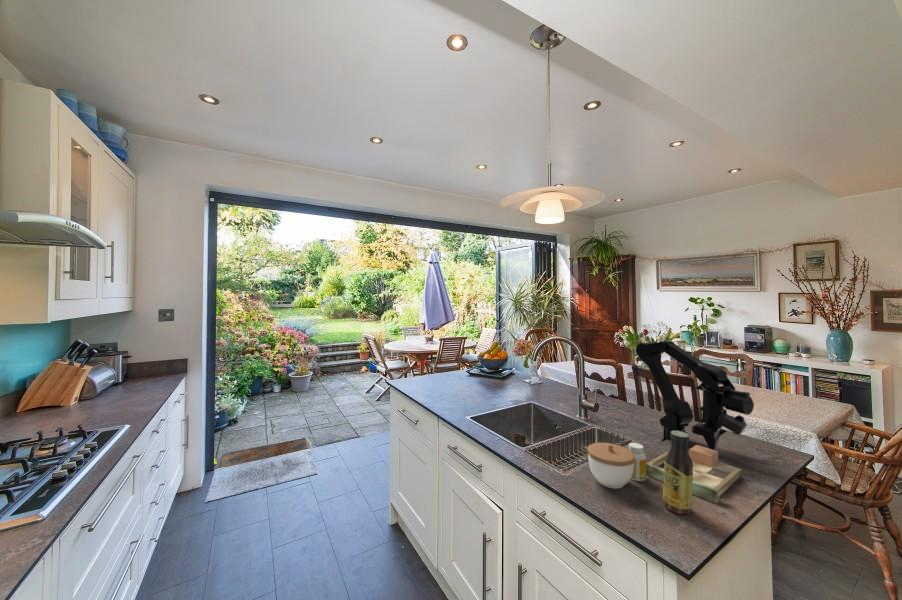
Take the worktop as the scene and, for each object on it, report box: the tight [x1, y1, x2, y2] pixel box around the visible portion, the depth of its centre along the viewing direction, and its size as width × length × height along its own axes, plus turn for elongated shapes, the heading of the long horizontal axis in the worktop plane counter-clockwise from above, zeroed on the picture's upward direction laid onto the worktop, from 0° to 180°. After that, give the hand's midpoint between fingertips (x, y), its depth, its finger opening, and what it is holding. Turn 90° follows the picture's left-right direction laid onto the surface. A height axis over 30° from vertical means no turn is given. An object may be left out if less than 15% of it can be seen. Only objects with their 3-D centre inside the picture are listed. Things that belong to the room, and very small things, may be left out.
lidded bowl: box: [587, 442, 635, 490], centre depth 101 cm, size 13×13×11 cm
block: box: [688, 444, 719, 467], centre depth 111 cm, size 6×6×4 cm
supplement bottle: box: [628, 442, 647, 482], centre depth 103 cm, size 5×5×10 cm
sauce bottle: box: [662, 431, 693, 515], centre depth 88 cm, size 7×6×20 cm
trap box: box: [646, 450, 742, 504], centre depth 105 cm, size 18×25×3 cm
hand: (712, 450), depth 116 cm, fingers closed
